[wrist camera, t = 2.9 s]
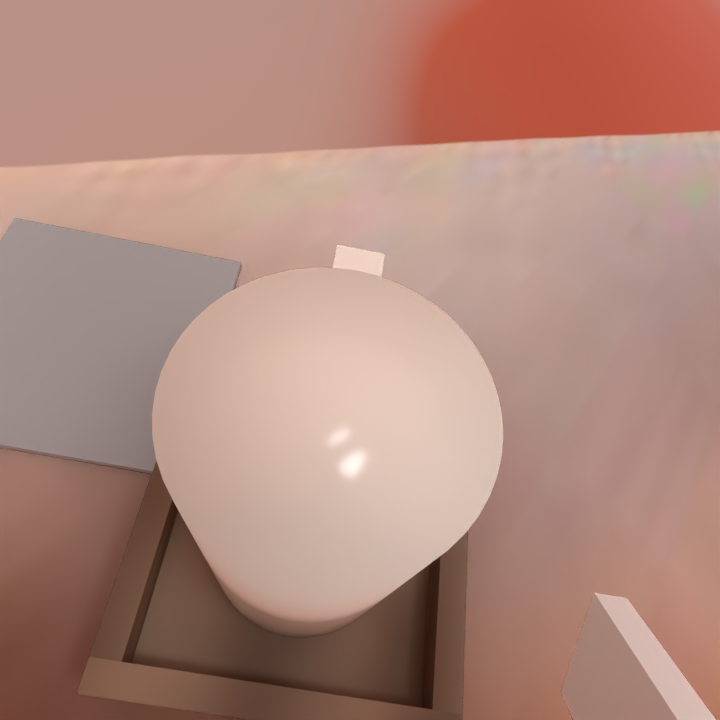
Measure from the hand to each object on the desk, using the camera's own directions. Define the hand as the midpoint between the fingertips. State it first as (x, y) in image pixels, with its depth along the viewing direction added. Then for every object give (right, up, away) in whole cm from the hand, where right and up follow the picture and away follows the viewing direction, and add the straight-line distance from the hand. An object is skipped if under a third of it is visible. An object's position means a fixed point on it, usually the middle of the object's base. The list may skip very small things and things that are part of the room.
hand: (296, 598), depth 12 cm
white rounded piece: (-1, -1, +10) cm, 10 cm away
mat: (-12, +6, +14) cm, 20 cm away
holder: (-1, -3, +11) cm, 11 cm away
